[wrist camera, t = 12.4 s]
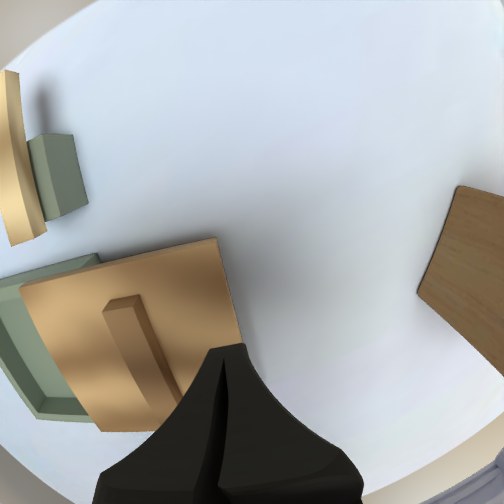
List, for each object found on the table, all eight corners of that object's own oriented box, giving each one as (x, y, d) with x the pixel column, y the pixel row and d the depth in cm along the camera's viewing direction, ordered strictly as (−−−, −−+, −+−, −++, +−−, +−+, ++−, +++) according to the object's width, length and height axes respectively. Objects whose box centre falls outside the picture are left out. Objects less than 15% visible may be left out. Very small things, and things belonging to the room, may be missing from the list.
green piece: (159, 397, 24) (154, 421, 22) (46, 400, 24) (36, 419, 21) (96, 252, 20) (79, 268, 17) (-17, 284, 20) (-35, 298, 17)
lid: (261, 409, 22) (265, 432, 19) (104, 423, 21) (97, 444, 19) (216, 237, 17) (214, 251, 15) (25, 282, 17) (6, 297, 14)
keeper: (88, 203, 19) (60, 216, 15) (45, 218, 19) (15, 233, 15) (72, 134, 17) (42, 133, 13) (30, 154, 17) (-3, 158, 13)
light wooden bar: (47, 231, 15) (34, 238, 13) (24, 239, 15) (11, 246, 13) (19, 73, 11) (4, 69, 10) (-3, 87, 11) (-18, 85, 10)
